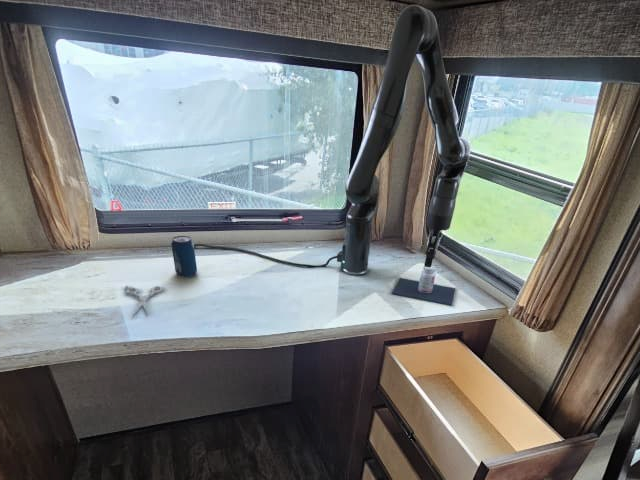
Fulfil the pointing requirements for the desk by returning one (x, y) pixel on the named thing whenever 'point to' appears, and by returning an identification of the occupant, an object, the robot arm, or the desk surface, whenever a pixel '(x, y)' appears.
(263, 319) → the desk surface
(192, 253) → the soda can
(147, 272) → the desk surface
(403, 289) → the mat
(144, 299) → the scissors
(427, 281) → the pill bottle
